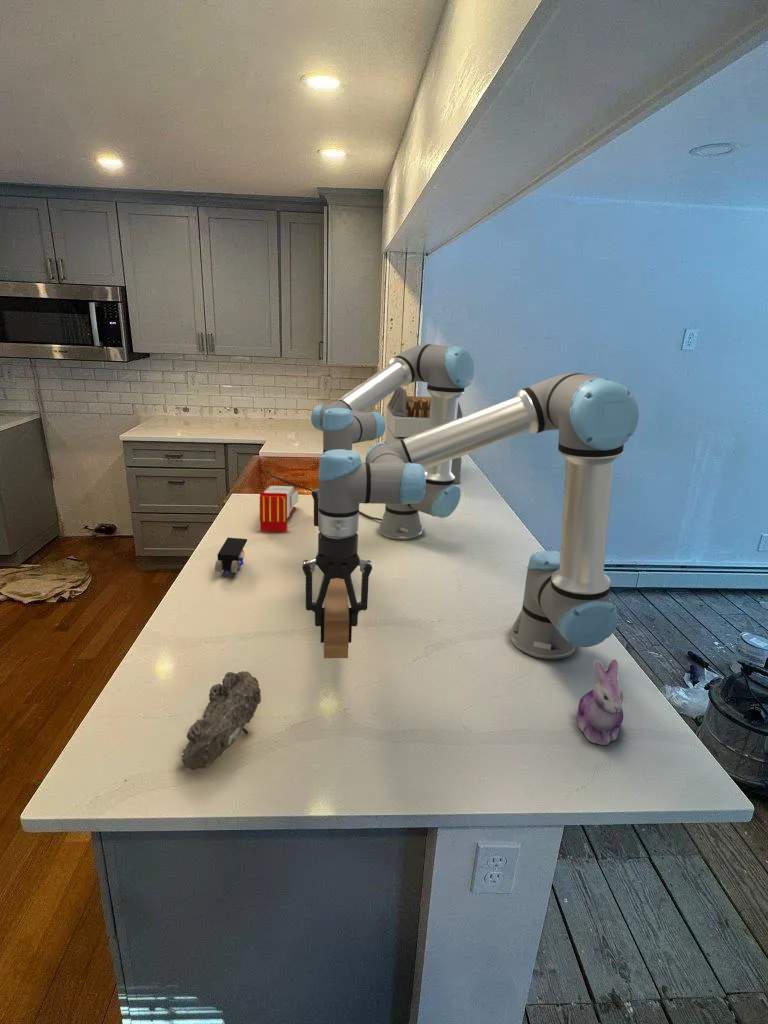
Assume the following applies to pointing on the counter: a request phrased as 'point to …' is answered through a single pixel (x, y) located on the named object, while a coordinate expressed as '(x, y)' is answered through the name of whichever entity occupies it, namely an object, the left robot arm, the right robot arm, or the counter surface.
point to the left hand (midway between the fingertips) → (335, 549)
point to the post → (336, 620)
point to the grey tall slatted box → (412, 421)
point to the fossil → (222, 719)
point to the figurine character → (230, 556)
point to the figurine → (602, 706)
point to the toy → (277, 507)
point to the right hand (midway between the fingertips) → (335, 638)
